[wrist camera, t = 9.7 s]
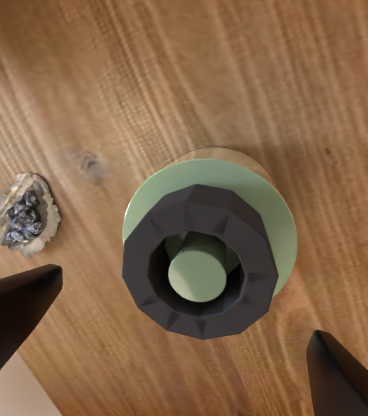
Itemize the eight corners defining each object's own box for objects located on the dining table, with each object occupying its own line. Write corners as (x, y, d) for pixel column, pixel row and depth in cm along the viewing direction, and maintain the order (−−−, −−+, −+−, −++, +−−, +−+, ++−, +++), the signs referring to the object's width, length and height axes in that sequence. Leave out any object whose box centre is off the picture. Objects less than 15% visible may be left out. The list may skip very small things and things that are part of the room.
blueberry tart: (-13, 231, 25) (-32, 239, 23) (0, 154, 22) (-21, 157, 20) (49, 263, 25) (35, 274, 23) (71, 190, 22) (56, 196, 20)
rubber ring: (210, 318, 16) (205, 361, 13) (122, 248, 15) (96, 276, 12) (297, 244, 13) (313, 276, 10) (193, 157, 13) (181, 168, 10)
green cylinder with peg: (199, 285, 22) (176, 385, 14) (129, 194, 21) (56, 244, 12) (305, 229, 19) (360, 315, 11) (231, 118, 18) (226, 115, 9)
